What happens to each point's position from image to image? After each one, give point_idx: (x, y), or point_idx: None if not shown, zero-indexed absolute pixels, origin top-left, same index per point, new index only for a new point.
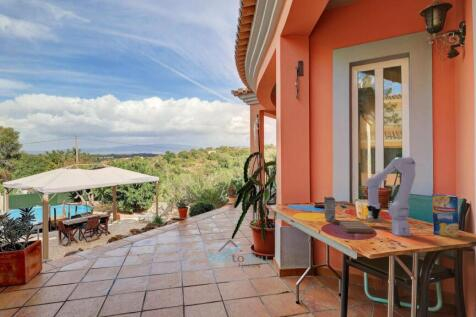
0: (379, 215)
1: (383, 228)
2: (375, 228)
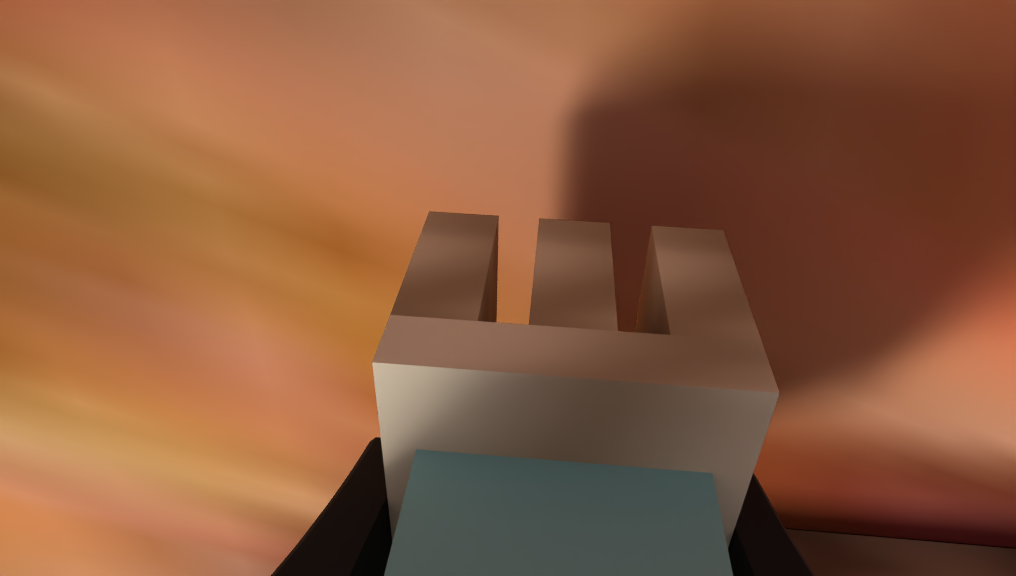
0: (504, 386)
1: (839, 192)
2: (795, 372)
